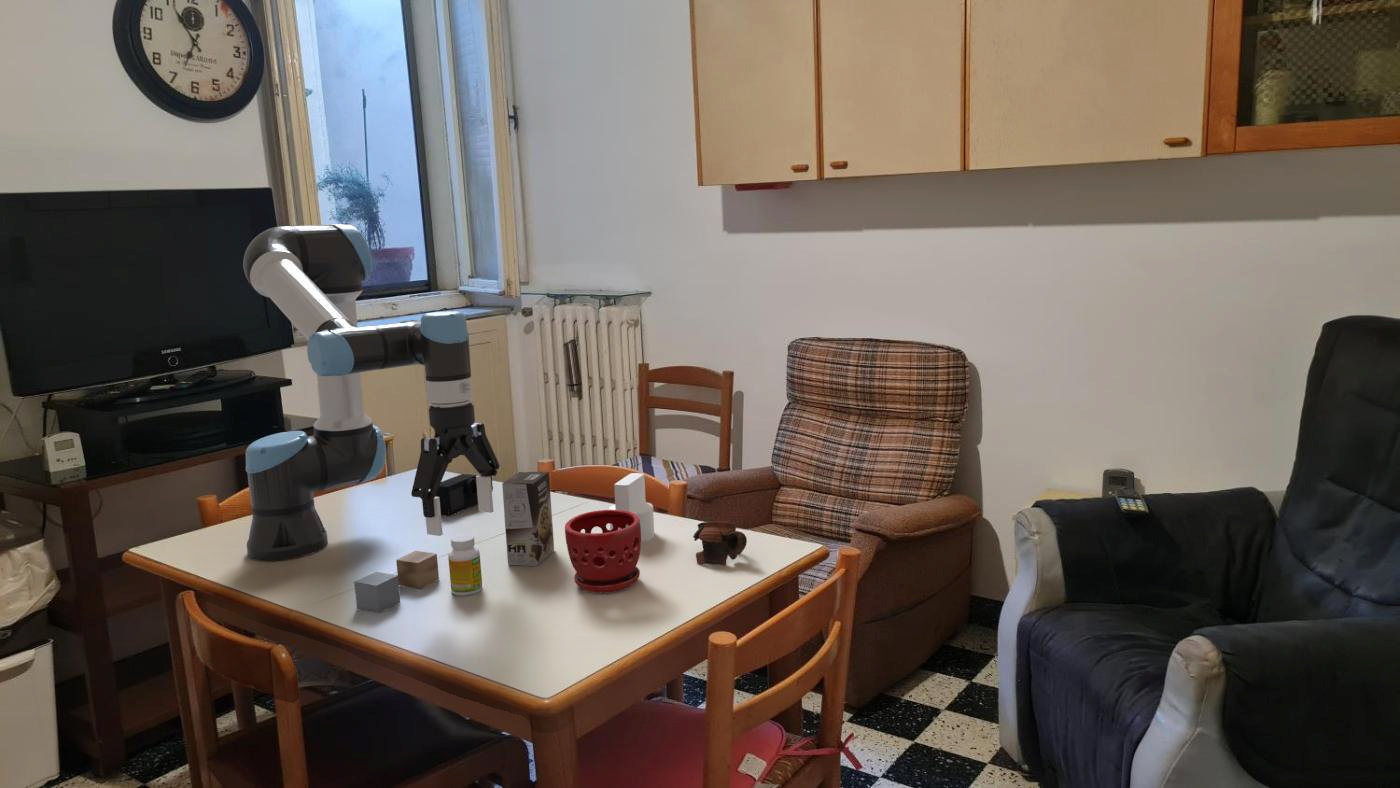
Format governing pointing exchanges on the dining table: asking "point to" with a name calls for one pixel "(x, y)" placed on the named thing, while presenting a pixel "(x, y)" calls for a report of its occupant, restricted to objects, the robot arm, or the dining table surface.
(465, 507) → the digital camera
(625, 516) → the plant pot
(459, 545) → the supplement bottle
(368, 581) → the slate block
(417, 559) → the walnut block
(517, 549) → the coffee box
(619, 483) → the base with upright slab
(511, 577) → the dining table surface
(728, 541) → the pottery mug
